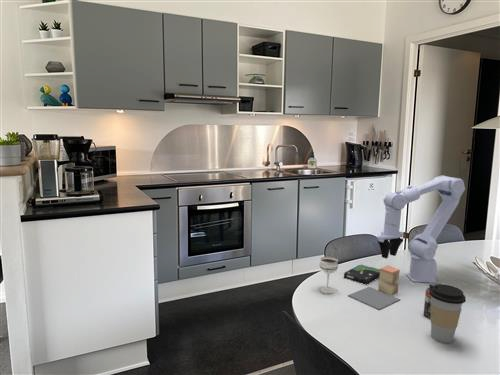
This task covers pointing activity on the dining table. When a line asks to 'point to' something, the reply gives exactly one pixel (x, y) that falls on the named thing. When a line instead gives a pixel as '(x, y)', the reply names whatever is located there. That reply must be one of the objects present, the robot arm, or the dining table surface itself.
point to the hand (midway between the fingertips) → (388, 256)
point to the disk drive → (362, 274)
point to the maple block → (389, 280)
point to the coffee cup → (445, 311)
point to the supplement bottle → (428, 300)
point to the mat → (374, 298)
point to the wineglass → (328, 270)
